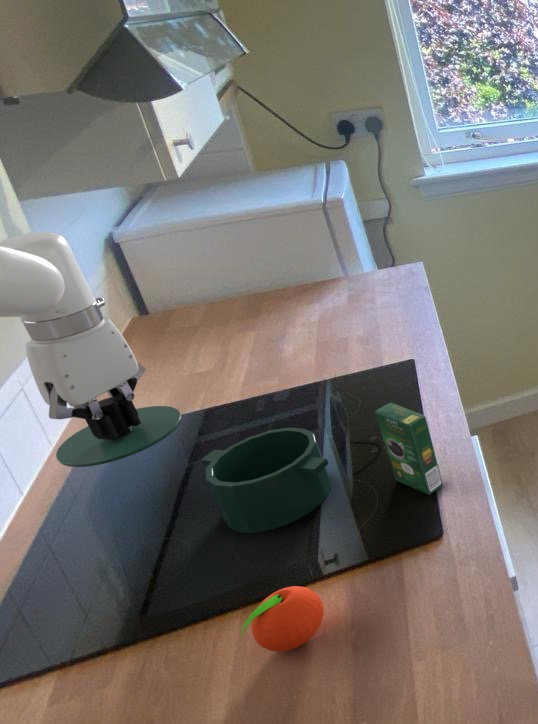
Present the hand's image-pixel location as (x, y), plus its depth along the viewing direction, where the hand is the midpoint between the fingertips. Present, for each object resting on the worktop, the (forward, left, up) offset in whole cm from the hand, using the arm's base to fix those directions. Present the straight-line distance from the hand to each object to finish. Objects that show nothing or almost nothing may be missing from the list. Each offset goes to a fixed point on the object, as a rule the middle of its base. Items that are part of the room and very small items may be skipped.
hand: (119, 430), depth 108 cm
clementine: (-22, -44, -11) cm, 50 cm away
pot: (0, -23, -11) cm, 25 cm away
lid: (0, 0, -1) cm, 1 cm away
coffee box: (+6, -42, -11) cm, 44 cm away
